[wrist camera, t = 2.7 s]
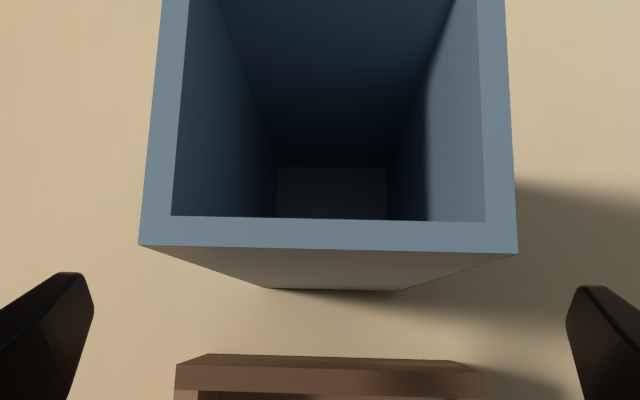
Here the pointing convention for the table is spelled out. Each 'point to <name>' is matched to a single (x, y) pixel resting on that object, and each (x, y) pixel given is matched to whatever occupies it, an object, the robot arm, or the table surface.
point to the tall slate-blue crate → (331, 141)
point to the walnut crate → (323, 379)
